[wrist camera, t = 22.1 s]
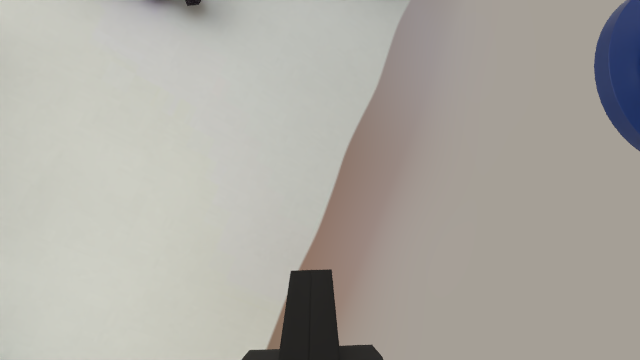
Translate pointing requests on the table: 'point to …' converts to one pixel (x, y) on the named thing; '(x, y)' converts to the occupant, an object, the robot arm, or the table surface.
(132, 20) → the table surface
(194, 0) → the book
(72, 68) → the table surface
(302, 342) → the robot arm
